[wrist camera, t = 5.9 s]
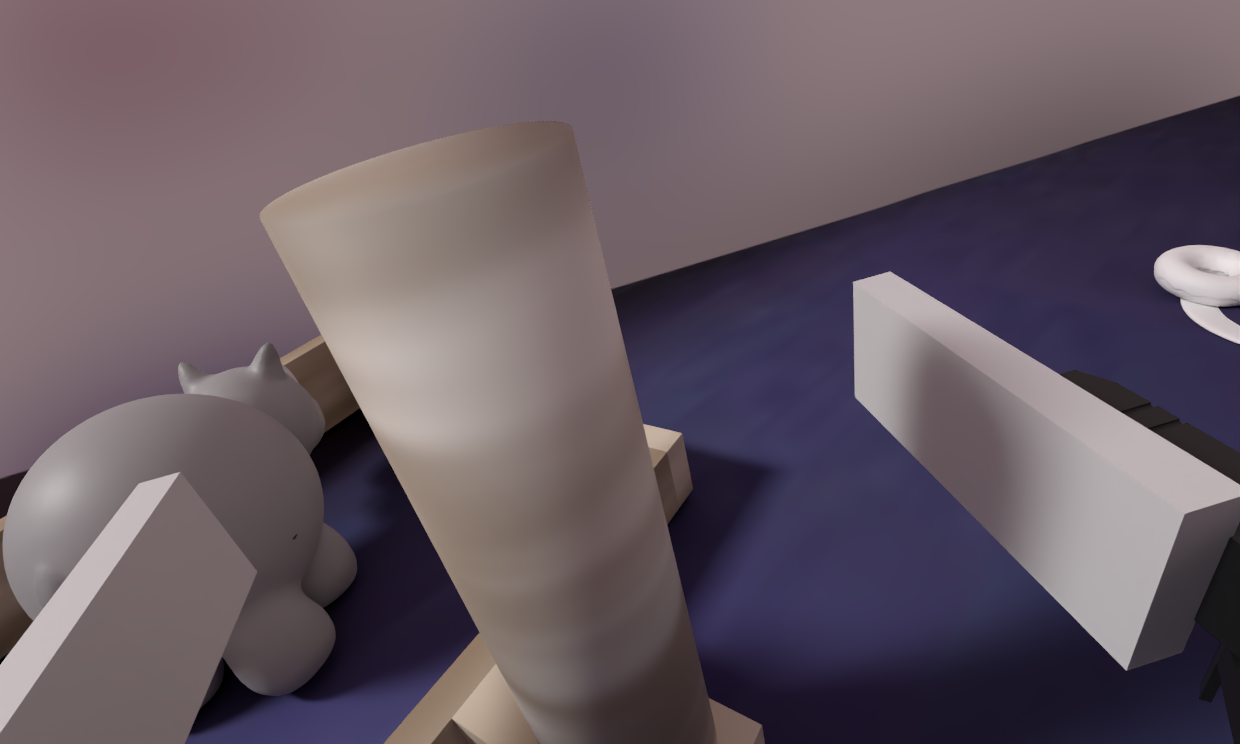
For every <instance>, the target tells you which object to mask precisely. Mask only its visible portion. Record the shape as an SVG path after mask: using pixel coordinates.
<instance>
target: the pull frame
mask: <svg viewBox="0 0 1240 744" xmlns="http://www.w3.org/2000/svg"><path fill="white" fill-rule="evenodd" d="M260 220H261V222H262V223H263V225H264V227H265V229H266V231H267V233H268V235H269V237H270V239H271V240H272V242H273V244H274V246H275V248H276V250H277V252H278V254H279V256H280V257H281V259H282V261H283V263H284V265H285V267H286V269H287V270H288V273H289V274H290V276H291V278H292V280H293V282H294V284H295V286H296V287H297V289H298V291H299V293H300V295H301V297H302V299H303V301H304V303H305V305H306V306H307V308H308V310H309V312H310V314H311V316H312V318H313V320H314V322H315V323H316V325H317V327H318V329H319V331H320V332H321V335H320V336H318V337H317V338H315V339H313V340H311V341H310V342H308V343H306V344H304V345H303V346H301V347H299V348H297V349H296V350H294V351H292V352H291V353H289V354H287V355H285V356H284V357H282V358H280V361H281V363H282V364H283V365H284V366H285V367H286V368H287V369H288V370H290V372H291V373H292V374H293V375H294V376H295V378H296V380H297V381H298V383H299V384H300V385H301V386H302V387H303V388H305V390H306V391H307V392H308V393H309V394H310V396H311V397H312V398H313V399H315V400H316V401H317V402H318V404H319V406H320V409H321V410H322V412H323V415H324V418H325V430H324V433H325V432H326V431H328V430H329V429H331V428H332V427H333V426H335V425H336V424H338V423H339V422H341V421H342V420H343V419H345V418H346V417H348V416H349V415H351V414H352V413H354V412H355V411H356V410H358V409H359V408H361V410H362V412H363V414H364V416H365V418H366V419H367V421H368V423H369V425H370V427H371V429H372V431H373V433H374V434H375V436H376V438H377V440H378V442H379V444H380V446H381V448H382V450H383V451H384V453H385V455H386V457H387V459H388V461H389V463H390V465H391V467H392V468H393V470H394V472H395V474H396V476H397V478H398V480H399V482H400V483H401V485H402V487H403V489H404V491H405V493H406V495H407V497H408V499H409V500H410V502H411V504H412V506H413V508H414V510H415V512H416V514H417V515H418V517H419V519H420V521H421V523H422V525H423V527H424V529H425V531H426V532H427V534H428V536H429V538H430V540H431V542H432V544H433V546H434V547H435V549H436V551H437V553H438V555H439V557H440V559H441V561H442V563H443V564H444V566H445V568H446V570H447V572H448V574H449V576H450V578H451V580H452V581H453V583H454V585H455V587H456V589H457V591H458V593H459V595H460V596H461V598H462V600H463V602H464V604H465V606H466V608H467V610H468V612H469V613H470V615H471V617H472V619H473V621H474V623H475V625H476V627H477V628H478V630H479V632H480V633H479V634H478V635H477V636H476V637H475V638H474V640H473V641H472V642H471V643H470V644H469V645H468V647H467V648H466V649H465V650H464V651H463V652H462V653H461V655H460V656H459V657H458V658H457V659H456V660H455V662H454V663H453V664H452V665H451V666H450V667H449V669H448V670H447V671H446V672H445V673H444V674H443V676H442V677H441V678H440V679H439V680H438V681H437V682H436V684H435V685H434V686H433V687H432V688H431V689H430V691H429V692H428V693H427V694H426V695H425V696H424V698H423V699H422V700H421V701H420V702H419V703H418V704H417V706H416V707H415V708H414V709H413V710H412V711H411V713H410V714H409V715H408V716H407V717H406V718H405V720H404V721H403V722H402V723H401V724H400V725H399V727H398V728H397V729H396V730H395V731H394V732H393V733H392V735H391V736H390V737H389V738H388V739H387V740H386V742H385V743H384V744H765V741H764V735H763V729H762V725H761V724H759V723H757V722H755V721H753V720H751V719H749V718H747V717H745V716H743V715H741V714H739V713H737V712H735V711H733V710H731V709H729V708H728V707H726V706H724V705H722V704H720V703H718V702H716V701H714V700H712V699H710V698H708V694H707V690H706V685H705V681H704V677H703V673H702V669H701V664H700V660H699V656H698V652H697V648H696V644H695V639H694V635H693V631H692V627H691V623H690V618H689V614H688V610H687V606H686V602H685V598H684V593H683V589H682V585H681V581H680V577H679V572H678V568H677V564H676V560H675V556H674V551H673V547H672V543H671V539H670V535H669V531H668V526H667V524H668V523H669V522H670V520H671V519H672V518H673V516H674V515H675V513H676V512H677V511H678V509H679V508H680V506H681V505H682V504H683V502H684V501H685V499H686V498H687V497H688V495H689V494H690V493H691V491H692V490H693V486H692V481H691V475H690V470H689V465H688V460H687V455H686V450H685V445H684V440H683V435H682V433H679V432H674V431H670V430H666V429H662V428H658V427H653V426H649V425H645V424H643V422H642V418H641V413H640V409H639V405H638V401H637V397H636V392H635V388H634V384H633V380H632V376H631V371H630V367H629V363H628V359H627V355H626V351H625V346H624V342H623V338H622V334H621V330H620V325H619V321H618V317H617V313H616V309H615V304H614V300H613V296H612V292H611V288H610V284H609V279H608V275H607V271H606V267H605V263H604V258H603V255H602V250H601V246H600V242H599V238H598V234H597V229H596V225H595V221H594V217H593V212H592V208H591V204H590V200H589V196H588V191H587V187H586V184H585V179H584V175H583V171H582V166H581V162H580V158H579V154H578V150H577V145H576V141H575V137H574V133H573V129H572V126H571V125H569V124H567V123H564V122H557V121H538V122H525V123H517V124H510V125H503V126H497V127H491V128H486V129H481V130H476V131H471V132H466V133H462V134H458V135H453V136H449V137H445V138H441V139H437V140H433V141H429V142H425V143H422V144H418V145H415V146H411V147H407V148H404V149H400V150H397V151H394V152H391V153H387V154H384V155H381V156H378V157H375V158H372V159H369V160H366V161H363V162H360V163H357V164H354V165H351V166H349V167H346V168H343V169H340V170H338V171H335V172H333V173H330V174H328V175H325V176H323V177H320V178H318V179H316V180H313V181H311V182H308V183H306V184H304V185H302V186H300V187H298V188H296V189H294V190H292V191H290V192H288V193H286V194H284V195H283V196H281V197H279V198H277V199H276V200H275V201H273V202H271V203H270V204H269V205H267V206H266V207H265V208H264V209H263V210H262V211H261V213H260ZM6 517H7V516H5V517H3V518H2V519H0V658H2V657H3V656H5V655H6V654H8V653H9V652H10V651H11V650H12V649H13V647H14V646H15V645H16V644H17V642H18V641H19V640H20V638H21V637H22V636H23V634H24V633H25V632H26V630H27V629H28V628H29V627H30V625H31V624H32V623H33V620H32V619H31V618H30V617H29V616H28V615H27V613H26V612H25V611H24V609H23V608H22V607H21V605H20V604H19V602H18V601H17V599H16V597H15V595H14V593H13V591H12V589H11V587H10V584H9V582H8V579H7V575H6V571H5V567H4V559H3V545H2V543H3V532H4V526H5V521H6Z"/></svg>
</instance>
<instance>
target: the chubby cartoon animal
mask: <svg viewBox="0 0 1240 744" xmlns="http://www.w3.org/2000/svg"><path fill="white" fill-rule="evenodd" d="M178 373H179V379H180V383H181V386H182V388H183V391H184V393H185V394H170V395H160V396H154V397H148V398H144V399H139V400H135V401H132V402H128V403H125V404H122V405H119V406H116V407H114V408H111V409H109V410H106V411H104V412H102V413H100V414H98V415H95V416H94V417H92V418H90V419H88V420H86V421H84V422H83V423H81V424H80V425H78V426H77V427H75V428H73V429H72V430H70V431H69V432H68V433H66V434H65V435H64V436H62V437H61V438H60V439H59V440H57V441H56V442H55V443H54V444H53V445H52V446H51V447H50V448H48V450H46V452H44V453H43V454H42V456H41V457H40V458H39V459H38V460H37V461H36V462H35V464H34V465H33V466H32V467H31V469H30V470H29V471H28V473H27V474H26V476H25V477H24V479H23V480H22V482H21V483H20V485H19V487H18V489H17V491H16V493H15V495H14V497H13V499H12V502H11V504H10V507H9V510H8V514H7V517H6V521H5V526H4V532H3V543H2V545H3V559H4V567H5V571H6V575H7V579H8V582H9V584H10V587H11V589H12V591H13V593H14V595H15V597H16V599H17V601H18V602H19V604H20V605H21V607H22V608H23V609H24V611H25V612H26V613H27V615H28V616H29V617H30V618H31V619H32V620H33V621H34V620H35V619H36V617H37V616H38V615H39V613H40V612H41V611H42V609H43V608H44V607H45V606H46V604H47V603H48V602H49V600H50V599H51V598H52V596H53V595H54V594H55V592H56V591H57V590H58V589H59V587H60V586H61V585H62V583H63V582H64V581H65V579H66V578H67V577H68V575H69V574H70V573H71V572H72V570H73V569H74V568H75V566H76V565H77V564H78V562H79V561H80V560H81V558H82V557H83V556H84V554H85V553H86V552H87V551H88V549H89V548H90V547H91V545H92V544H93V543H94V541H95V540H96V539H97V537H98V536H99V535H100V534H101V532H102V531H103V530H104V528H105V527H106V526H107V524H108V523H109V522H110V520H111V519H112V518H113V517H114V515H115V514H116V513H117V511H118V510H119V509H120V507H121V506H122V505H123V503H124V502H125V501H126V499H127V498H128V497H129V496H130V494H131V493H132V492H133V490H134V489H135V488H136V486H137V485H138V484H139V483H142V482H146V481H149V480H153V479H157V478H160V477H164V476H167V475H171V474H174V473H178V472H181V473H182V474H183V476H184V477H185V478H186V480H187V481H188V482H189V483H190V485H191V486H192V487H193V489H194V490H195V491H196V493H197V494H198V495H199V496H200V498H201V499H202V500H203V502H204V503H205V504H206V505H207V507H208V508H209V509H210V511H211V512H212V513H213V515H214V516H215V517H216V518H217V520H218V521H219V522H220V524H221V525H222V526H223V528H224V529H225V530H226V531H227V533H228V534H229V535H230V537H231V538H232V539H233V541H234V542H235V543H236V544H237V546H238V547H239V548H240V550H241V551H242V552H243V554H244V555H245V556H246V557H247V559H248V560H249V561H250V563H251V564H252V565H253V567H254V568H255V569H256V570H257V574H256V576H255V579H254V581H253V583H252V586H251V588H250V591H249V593H248V595H247V598H246V600H245V602H244V605H243V607H242V609H241V612H240V614H239V617H238V619H237V621H236V624H235V626H234V628H233V631H232V633H231V635H230V638H229V640H228V643H227V645H226V647H225V650H224V652H223V654H222V657H223V658H224V660H225V661H226V662H227V664H228V665H229V667H230V668H231V670H232V671H233V672H234V674H235V675H236V676H237V678H238V679H239V680H240V681H241V682H242V683H243V684H244V685H246V686H247V687H248V688H249V689H251V690H253V691H254V692H257V693H259V694H263V695H269V696H282V695H286V694H289V693H291V692H293V691H295V690H297V689H298V688H300V687H301V686H303V685H304V684H305V683H306V682H307V681H309V680H310V679H311V678H312V677H313V676H314V675H315V674H316V673H317V671H318V670H319V669H320V668H321V666H322V665H323V664H324V662H325V661H326V659H327V658H328V656H329V654H330V653H331V651H332V648H333V646H334V643H335V636H336V633H335V627H334V624H333V622H332V620H331V618H330V617H329V615H328V614H327V612H326V611H325V610H324V609H323V608H324V607H326V606H327V605H329V604H330V603H332V602H333V601H335V600H336V599H337V598H338V597H339V596H341V595H342V594H343V593H344V592H345V591H346V590H347V589H348V587H349V586H350V585H351V583H352V582H353V580H354V578H355V576H356V573H357V560H356V557H355V554H354V552H353V550H352V549H351V547H350V545H349V544H348V543H347V541H346V540H345V539H344V538H343V537H342V536H341V535H340V534H339V533H338V532H337V531H335V530H334V529H333V528H331V527H330V526H328V525H327V524H325V523H324V522H323V519H324V499H323V491H322V486H321V482H320V478H319V475H318V472H317V470H316V467H315V465H314V463H313V461H312V459H311V457H310V454H311V452H312V450H313V449H314V448H315V447H316V446H317V444H318V443H319V442H320V440H321V438H322V437H323V434H324V430H325V418H324V415H323V412H322V410H321V409H320V406H319V404H318V402H317V401H316V400H315V399H313V398H312V397H311V396H310V394H309V393H308V392H307V391H306V390H305V388H303V387H302V386H301V385H300V384H299V383H298V381H297V380H296V378H295V376H294V375H293V374H292V373H291V372H290V370H288V369H287V368H286V367H285V366H284V365H283V364H282V363H281V361H280V358H279V355H278V353H277V351H276V349H275V347H274V346H273V345H272V344H271V343H267V344H264V345H263V346H262V347H261V348H260V350H259V351H258V353H257V355H256V356H255V358H254V360H253V362H252V364H251V365H250V366H249V367H239V368H234V369H230V370H227V371H224V372H222V373H219V374H215V375H209V374H206V373H204V372H202V371H201V370H199V369H198V368H196V367H194V366H193V365H191V364H189V363H186V362H181V363H180V364H179V366H178ZM222 657H221V659H220V662H219V664H218V666H217V669H216V671H215V673H214V676H213V678H212V680H211V683H210V685H209V688H208V690H207V692H206V695H205V697H204V699H203V702H202V704H201V707H203V706H204V705H205V704H206V703H207V702H208V701H209V700H210V699H211V698H212V697H213V696H214V694H215V693H216V692H217V690H218V689H219V687H220V685H221V682H222V680H223V675H224V663H223V659H222ZM201 707H200V708H201Z"/></svg>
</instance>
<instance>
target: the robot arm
mask: <svg viewBox="0 0 1240 744" xmlns="http://www.w3.org/2000/svg"><path fill="white" fill-rule="evenodd" d="M853 297H854V369H855V397H856V398H857V399H858V400H859V401H860V402H861V403H862V404H863V405H864V406H865V408H866V409H867V410H868V411H869V412H870V413H871V414H872V415H873V416H874V417H875V418H876V419H877V420H878V421H879V422H880V423H881V424H882V425H883V426H884V427H885V428H886V429H887V430H888V431H889V432H890V433H891V434H892V435H893V436H894V437H895V438H896V439H897V440H898V441H899V442H900V443H901V444H902V445H903V446H904V447H905V448H906V449H907V450H908V451H909V452H910V453H911V454H912V455H913V456H914V457H915V458H916V459H917V460H918V461H919V462H920V463H921V464H922V465H923V466H924V467H925V468H926V469H927V470H928V471H929V472H930V473H931V474H932V475H933V476H934V477H935V478H936V479H937V480H938V481H939V482H940V483H941V484H942V485H943V486H944V487H945V488H946V489H947V490H948V491H949V492H950V493H951V494H952V495H953V496H954V497H955V498H956V499H957V500H958V501H959V502H960V503H961V504H962V505H963V506H964V507H965V508H966V509H967V510H968V511H969V512H970V513H971V514H972V515H973V516H974V518H975V519H976V520H977V521H978V522H979V523H980V524H981V525H982V526H983V527H984V528H985V529H986V530H987V531H988V532H989V533H990V534H991V535H992V536H993V537H994V538H995V539H996V540H997V541H998V542H999V543H1000V544H1001V545H1002V546H1003V547H1004V548H1005V549H1006V550H1007V551H1008V552H1009V553H1010V554H1011V555H1012V556H1013V557H1014V558H1015V559H1016V560H1017V561H1018V562H1019V563H1020V564H1021V565H1022V566H1023V567H1024V568H1025V569H1026V570H1027V571H1028V572H1029V573H1030V574H1031V575H1032V576H1033V577H1034V578H1035V579H1036V580H1037V581H1038V582H1039V583H1040V584H1041V585H1042V586H1043V587H1044V588H1045V589H1046V590H1047V591H1048V592H1049V593H1050V594H1051V595H1052V596H1053V597H1054V598H1055V599H1056V600H1057V601H1058V602H1059V603H1060V604H1061V605H1062V606H1063V607H1064V608H1065V609H1066V610H1067V611H1068V612H1069V613H1070V614H1071V615H1072V616H1073V617H1074V618H1075V619H1076V620H1077V621H1078V622H1079V623H1080V624H1081V625H1082V626H1083V627H1084V629H1085V630H1086V631H1087V632H1088V633H1089V634H1090V635H1091V636H1092V637H1093V638H1094V639H1095V640H1096V641H1097V642H1098V643H1099V644H1100V645H1101V646H1102V647H1103V648H1104V649H1105V650H1106V651H1107V652H1108V653H1109V654H1110V655H1111V656H1112V657H1113V658H1114V659H1115V660H1116V661H1117V662H1118V663H1119V664H1120V665H1121V666H1122V667H1123V668H1124V669H1125V670H1126V671H1127V670H1131V669H1134V668H1137V667H1140V666H1143V665H1146V664H1149V663H1152V662H1155V661H1158V660H1161V659H1164V658H1167V657H1170V656H1173V655H1177V654H1180V653H1182V652H1183V650H1184V647H1185V645H1186V643H1187V641H1188V638H1189V636H1190V634H1191V632H1192V629H1193V627H1194V625H1195V622H1197V623H1198V624H1199V625H1201V626H1202V627H1203V628H1204V629H1205V630H1207V631H1208V632H1209V633H1210V634H1211V635H1213V636H1214V637H1215V638H1216V639H1217V640H1219V641H1220V642H1221V644H1220V646H1219V648H1218V650H1217V652H1216V654H1215V656H1214V658H1213V660H1212V662H1211V664H1210V666H1209V668H1208V670H1207V672H1206V674H1205V676H1204V679H1203V681H1202V683H1201V688H1200V696H1199V699H1201V700H1205V701H1208V702H1212V700H1213V698H1214V696H1215V694H1216V692H1217V690H1218V688H1219V686H1220V684H1221V685H1222V690H1223V694H1224V699H1225V704H1226V708H1227V713H1228V717H1229V722H1230V727H1231V731H1232V736H1233V741H1234V744H1240V453H1239V452H1237V451H1236V450H1234V449H1232V448H1230V447H1229V446H1227V445H1225V444H1223V443H1222V442H1220V441H1218V440H1216V439H1214V438H1213V437H1211V436H1209V435H1207V434H1206V433H1204V432H1202V431H1200V430H1199V429H1197V428H1195V427H1193V426H1192V425H1190V424H1188V423H1185V424H1182V423H1181V422H1180V421H1179V418H1177V417H1176V416H1174V415H1172V414H1170V413H1169V412H1167V411H1165V410H1163V409H1162V408H1160V407H1158V406H1156V407H1152V406H1151V402H1149V401H1147V400H1146V399H1144V398H1142V397H1140V396H1139V395H1137V394H1135V393H1133V392H1132V391H1130V390H1128V389H1126V388H1125V387H1123V386H1121V385H1119V384H1118V383H1115V382H1112V381H1109V380H1106V379H1102V378H1099V377H1096V376H1093V375H1090V374H1086V373H1083V372H1080V371H1077V370H1073V371H1070V372H1066V373H1063V374H1057V373H1056V372H1054V371H1052V370H1051V369H1049V368H1048V367H1046V366H1044V365H1043V364H1041V363H1039V362H1038V361H1036V360H1034V359H1033V358H1031V357H1029V356H1028V355H1026V354H1025V353H1023V352H1021V351H1020V350H1018V349H1016V348H1015V347H1013V346H1011V345H1010V344H1008V343H1006V342H1005V341H1003V340H1002V339H1000V338H998V337H997V336H995V335H993V334H992V333H990V332H988V331H987V330H985V329H984V328H982V327H980V326H979V325H977V324H975V323H974V322H972V321H970V320H969V319H967V318H965V317H964V316H962V315H961V314H959V313H957V312H956V311H954V310H952V309H951V308H949V307H947V306H946V305H944V304H943V303H941V302H939V301H938V300H936V299H934V298H933V297H931V296H929V295H928V294H926V293H924V292H923V291H921V290H920V289H918V288H916V287H915V286H913V285H911V284H910V283H908V282H906V281H905V280H903V279H901V278H900V277H898V276H897V275H895V274H893V273H892V272H887V273H883V274H880V275H876V276H873V277H869V278H866V279H862V280H859V281H855V282H853ZM256 574H257V570H256V569H255V568H254V567H253V565H252V564H251V563H250V561H249V560H248V559H247V557H246V556H245V555H244V554H243V552H242V551H241V550H240V548H239V547H238V546H237V544H236V543H235V542H234V541H233V539H232V538H231V537H230V535H229V534H228V533H227V531H226V530H225V529H224V528H223V526H222V525H221V524H220V522H219V521H218V520H217V518H216V517H215V516H214V515H213V513H212V512H211V511H210V509H209V508H208V507H207V505H206V504H205V503H204V502H203V500H202V499H201V498H200V496H199V495H198V494H197V493H196V491H195V490H194V489H193V487H192V486H191V485H190V483H189V482H188V481H187V480H186V478H185V477H184V476H183V474H182V473H181V472H178V473H174V474H171V475H167V476H164V477H160V478H157V479H153V480H149V481H146V482H142V483H139V484H138V485H137V486H136V488H135V489H134V490H133V492H132V493H131V494H130V496H129V497H128V498H127V499H126V501H125V502H124V503H123V505H122V506H121V507H120V509H119V510H118V511H117V513H116V514H115V515H114V517H113V518H112V519H111V520H110V522H109V523H108V524H107V526H106V527H105V528H104V530H103V531H102V532H101V534H100V535H99V536H98V537H97V539H96V540H95V541H94V543H93V544H92V545H91V547H90V548H89V549H88V551H87V552H86V553H85V554H84V556H83V557H82V558H81V560H80V561H79V562H78V564H77V565H76V566H75V568H74V569H73V570H72V572H71V573H70V574H69V575H68V577H67V578H66V579H65V581H64V582H63V583H62V585H61V586H60V587H59V589H58V590H57V591H56V592H55V594H54V595H53V596H52V598H51V599H50V600H49V602H48V603H47V604H46V606H45V607H44V608H43V609H42V611H41V612H40V613H39V615H38V616H37V617H36V619H35V620H34V621H33V623H32V624H31V625H30V627H29V628H28V629H27V630H26V632H25V633H24V634H23V636H22V637H21V638H20V640H19V641H18V642H17V644H16V645H15V646H14V647H13V649H12V650H11V651H10V653H9V654H8V655H7V657H6V658H5V659H4V661H3V662H2V663H1V664H0V744H185V742H186V740H187V737H188V735H189V733H190V730H191V728H192V725H193V723H194V721H195V718H196V716H197V714H198V711H199V709H200V707H201V704H202V702H203V699H204V697H205V695H206V692H207V690H208V688H209V685H210V683H211V680H212V678H213V676H214V673H215V671H216V669H217V666H218V664H219V662H220V659H221V657H222V654H223V652H224V650H225V647H226V645H227V643H228V640H229V638H230V635H231V633H232V631H233V628H234V626H235V624H236V621H237V619H238V617H239V614H240V612H241V609H242V607H243V605H244V602H245V600H246V598H247V595H248V593H249V591H250V588H251V586H252V583H253V581H254V579H255V576H256Z"/></svg>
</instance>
